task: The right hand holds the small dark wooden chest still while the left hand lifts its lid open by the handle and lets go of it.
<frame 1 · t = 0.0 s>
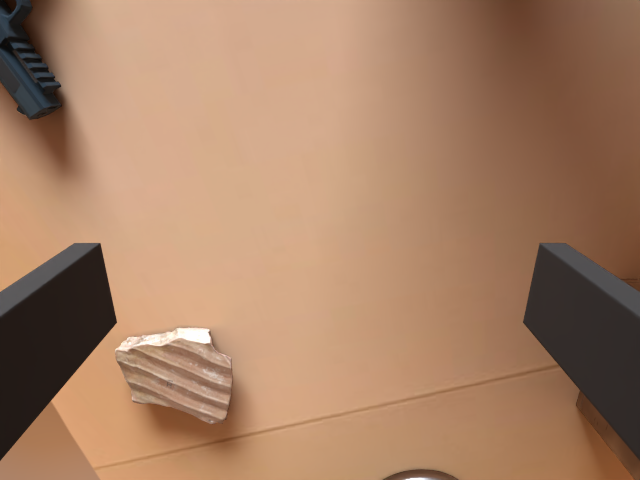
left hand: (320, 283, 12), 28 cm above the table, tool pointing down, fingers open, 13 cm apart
chest: (633, 346, 47), on the table
stone: (186, 372, 48), on the table
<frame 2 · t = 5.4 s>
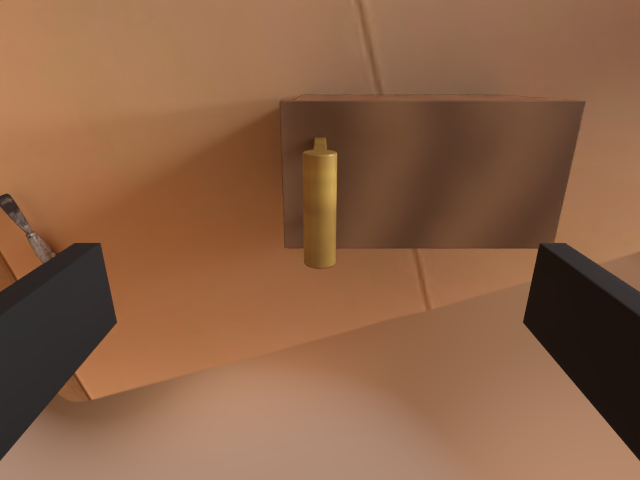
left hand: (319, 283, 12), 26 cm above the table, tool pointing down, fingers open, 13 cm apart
chest: (397, 150, 37), on the table
putty knife: (36, 229, 39), on the table
lid: (439, 192, 23), point 15 cm above the table, hinge at 0.0°
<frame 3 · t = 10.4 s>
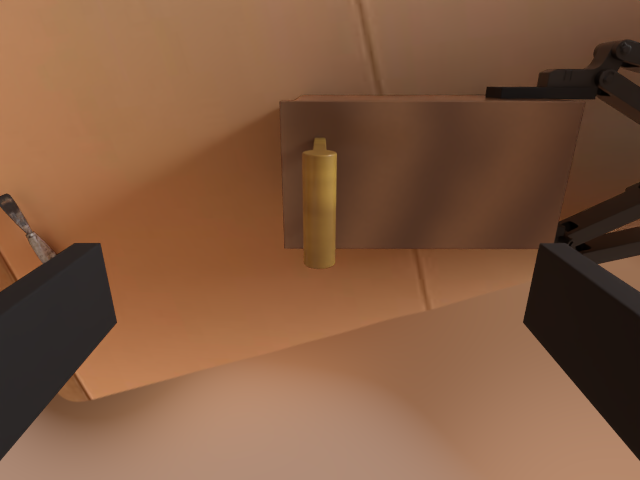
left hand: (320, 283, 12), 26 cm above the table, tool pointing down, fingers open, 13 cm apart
chest: (397, 150, 37), on the table, touching right hand
putty knife: (36, 229, 39), on the table
lid: (438, 192, 23), point 15 cm above the table, hinge at 0.0°
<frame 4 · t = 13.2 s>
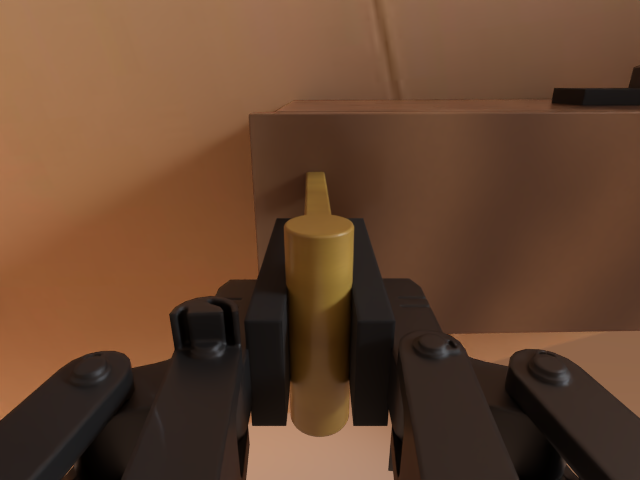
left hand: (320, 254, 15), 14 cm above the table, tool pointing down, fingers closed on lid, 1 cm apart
chest: (420, 172, 28), on the table, touching right hand
lid: (518, 268, 13), point 15 cm above the table, hinge at 1.6°, touching left hand
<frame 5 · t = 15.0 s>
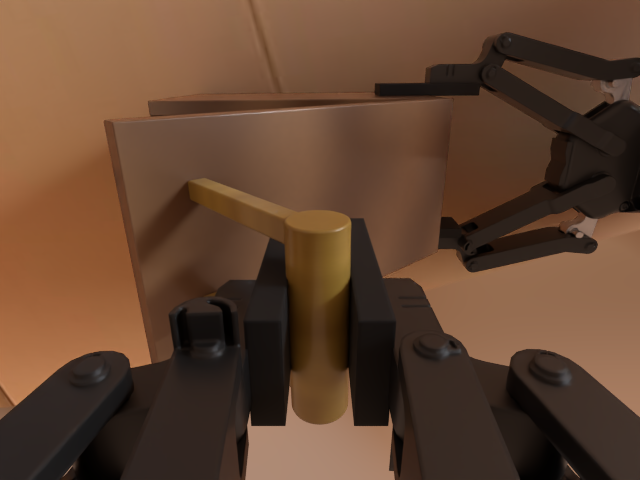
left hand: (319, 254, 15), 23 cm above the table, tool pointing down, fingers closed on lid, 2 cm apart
right hand: (374, 163, 30), fingers closed on chest, 9 cm apart
chest: (303, 150, 35), on the table, touching right hand
lid: (387, 228, 17), point 20 cm above the table, hinge at 40.4°, touching left hand
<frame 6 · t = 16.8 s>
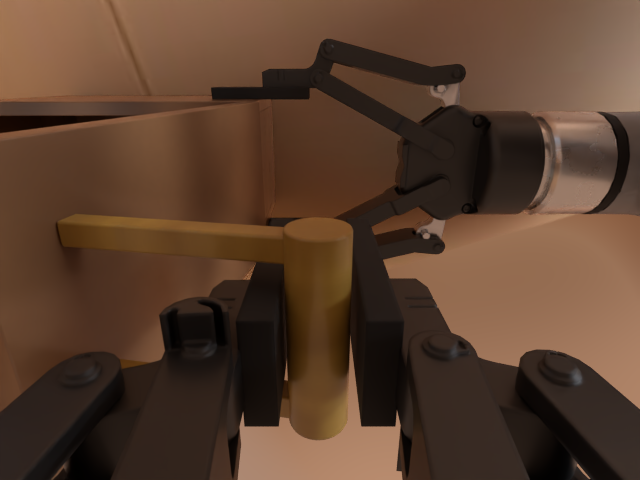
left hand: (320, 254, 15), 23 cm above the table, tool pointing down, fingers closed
right hand: (222, 164, 30), fingers closed on chest, 9 cm apart
chest: (176, 151, 36), on the table, touching right hand
lid: (269, 232, 17), point 21 cm above the table, hinge at 78.6°
when the right hand's fingers open (6 cm above the table, at t = 20.9 s): chest stays where it is, on the table.
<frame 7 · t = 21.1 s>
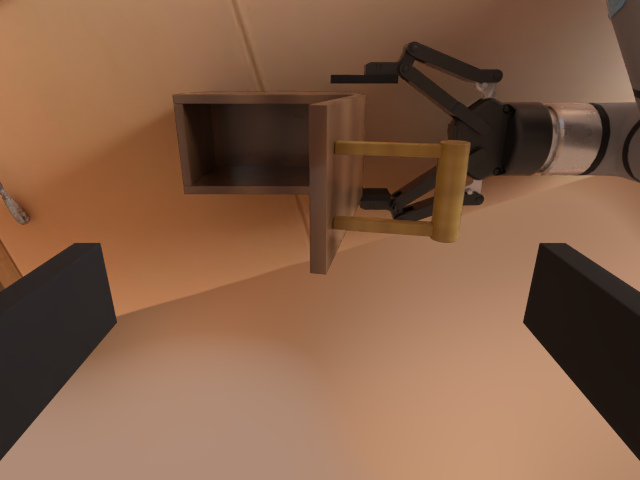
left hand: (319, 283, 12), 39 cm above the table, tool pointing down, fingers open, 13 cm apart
right hand: (330, 139, 43), fingers open, 11 cm apart
chest: (279, 133, 49), on the table
putty knife: (10, 194, 52), on the table
lid: (394, 167, 29), point 21 cm above the table, hinge at 77.8°
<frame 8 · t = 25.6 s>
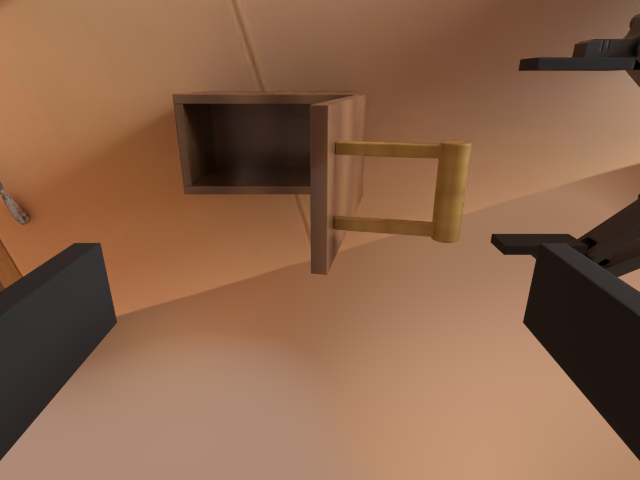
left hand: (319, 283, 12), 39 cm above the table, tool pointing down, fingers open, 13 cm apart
chest: (279, 133, 49), on the table
putty knife: (10, 194, 52), on the table
lid: (394, 167, 29), point 21 cm above the table, hinge at 77.8°
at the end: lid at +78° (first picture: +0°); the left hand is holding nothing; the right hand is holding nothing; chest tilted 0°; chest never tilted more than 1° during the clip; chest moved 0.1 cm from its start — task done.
